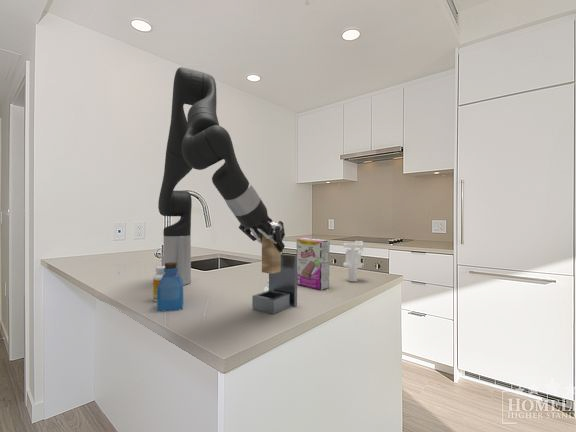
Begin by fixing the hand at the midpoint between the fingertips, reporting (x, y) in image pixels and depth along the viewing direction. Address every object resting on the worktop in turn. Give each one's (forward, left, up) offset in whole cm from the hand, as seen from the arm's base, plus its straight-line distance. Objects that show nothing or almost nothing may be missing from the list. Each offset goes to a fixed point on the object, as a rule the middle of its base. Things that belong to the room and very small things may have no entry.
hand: (275, 248), depth 87 cm
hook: (-10, +13, -16) cm, 23 cm away
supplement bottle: (-31, -14, -16) cm, 38 cm away
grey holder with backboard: (0, -1, -16) cm, 16 cm away
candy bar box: (-3, +25, -16) cm, 30 cm away
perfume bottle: (-23, -17, -16) cm, 33 cm away
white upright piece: (+5, +41, -16) cm, 44 cm away
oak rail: (0, -2, -6) cm, 6 cm away
